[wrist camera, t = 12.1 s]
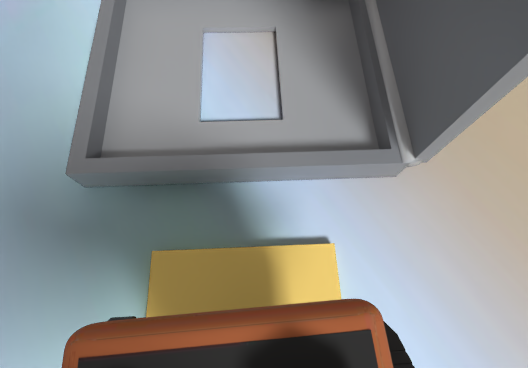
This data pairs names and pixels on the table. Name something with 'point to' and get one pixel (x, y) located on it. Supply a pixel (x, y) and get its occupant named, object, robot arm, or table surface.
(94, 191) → the table surface
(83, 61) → the table surface
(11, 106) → the table surface
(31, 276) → the table surface
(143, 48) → the equipment case
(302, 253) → the yellow sticky note
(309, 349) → the battery
